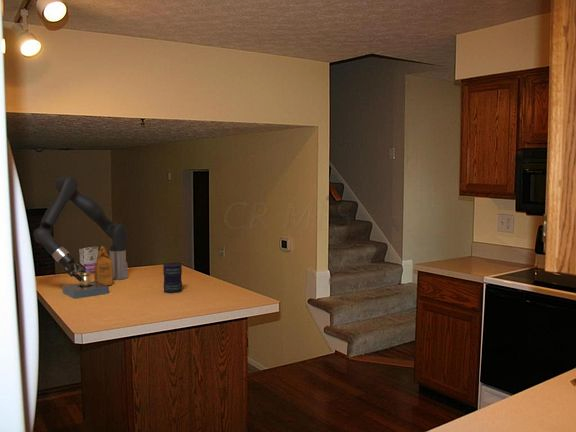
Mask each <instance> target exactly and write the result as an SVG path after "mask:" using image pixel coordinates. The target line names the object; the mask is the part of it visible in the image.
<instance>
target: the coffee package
mask: <svg viewBox="0 0 576 432" xmlns="http://www.w3.org/2000/svg"><path fill="white" fill-rule="evenodd" d="M107 250H108V249H107V248H105V246H103V245H101V246H100V248H99V254H98V256H97V259H96V265H95V273H93V274H94V275H93V277H94V278H93V279H94V281H97V282H99V283H102V284H105V285H107V286H111V285H113V268H112V260H111V259H110V255H108V253H107Z"/></svg>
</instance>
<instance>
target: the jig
mask: <svg viewBox="0 0 576 432" xmlns="http://www.w3.org/2000/svg"><path fill="white" fill-rule="evenodd" d="M61 287H62V294H64V295H66V296H67V297H70V298H72V299H75V300H76V299H82V298H91V297H95V296H102V295H108V294H110V285H105V284H102V283H99V282H97V281H95V280H94V281H92V280H91V281H90V287H84V288H81V283H80V282H79V283H71V284H64V285H62V286H61Z"/></svg>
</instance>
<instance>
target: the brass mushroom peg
mask: <svg viewBox="0 0 576 432" xmlns="http://www.w3.org/2000/svg"><path fill="white" fill-rule="evenodd" d="M78 274H79V275H80V276H81V277H82V278H83V280H82V281H80V282H79V283H81V288H84V287H90V282H91V274H92V273H91V272H81V273H80V272H78Z"/></svg>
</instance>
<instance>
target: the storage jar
mask: <svg viewBox="0 0 576 432" xmlns="http://www.w3.org/2000/svg"><path fill="white" fill-rule="evenodd" d="M182 267H183V265H182V263H181V262H168V263H167V262H165V263H164V264H163V269H162V270H163V271H162V275H163V293H164V294H179V293H182V292H183V288H182V287H183V281H182V274H183V273H182V272H183V268H182Z"/></svg>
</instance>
